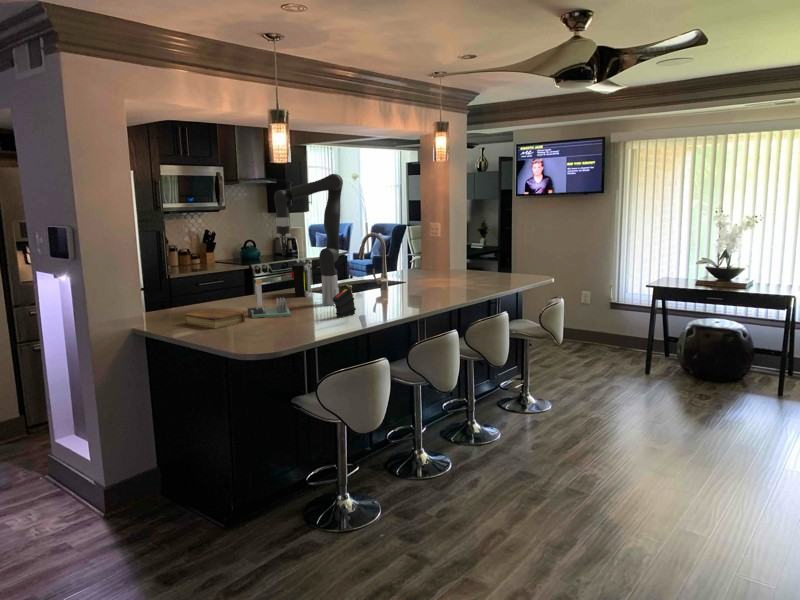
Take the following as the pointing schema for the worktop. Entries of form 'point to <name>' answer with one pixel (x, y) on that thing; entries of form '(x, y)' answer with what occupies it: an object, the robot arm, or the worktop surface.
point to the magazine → (344, 303)
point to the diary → (214, 318)
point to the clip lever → (259, 294)
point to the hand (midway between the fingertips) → (284, 255)
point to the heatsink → (280, 309)
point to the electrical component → (301, 278)
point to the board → (271, 313)
